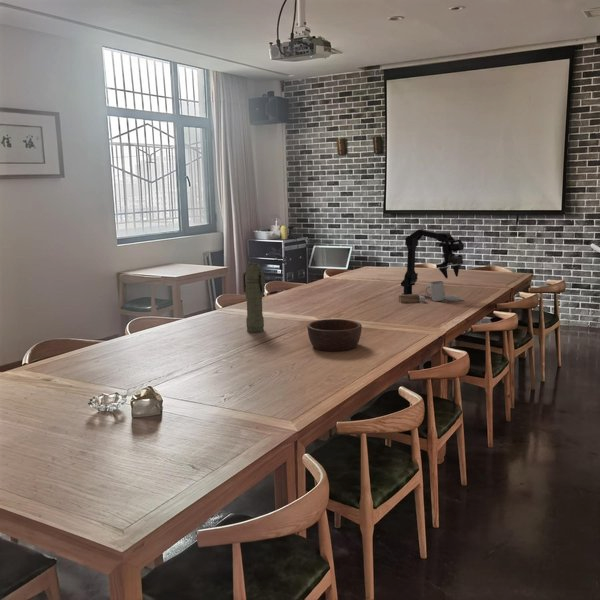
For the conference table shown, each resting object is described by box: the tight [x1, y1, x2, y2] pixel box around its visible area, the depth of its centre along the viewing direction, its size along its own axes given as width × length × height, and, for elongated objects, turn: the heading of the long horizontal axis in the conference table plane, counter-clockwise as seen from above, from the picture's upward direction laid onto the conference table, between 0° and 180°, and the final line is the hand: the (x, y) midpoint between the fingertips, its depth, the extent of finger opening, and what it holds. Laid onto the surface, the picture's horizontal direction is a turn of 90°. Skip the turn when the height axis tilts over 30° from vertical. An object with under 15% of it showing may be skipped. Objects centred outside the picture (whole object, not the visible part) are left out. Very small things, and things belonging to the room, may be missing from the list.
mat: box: [441, 295, 464, 303], centre depth 393 cm, size 15×14×1 cm
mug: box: [424, 280, 446, 302], centre depth 391 cm, size 12×8×11 cm
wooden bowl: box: [307, 318, 363, 352], centre depth 286 cm, size 25×25×10 cm
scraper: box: [398, 293, 426, 304], centre depth 388 cm, size 11×14×4 cm
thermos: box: [242, 262, 266, 334], centre depth 316 cm, size 9×12×35 cm
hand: (451, 277), depth 386 cm, fingers open, 9 cm apart
